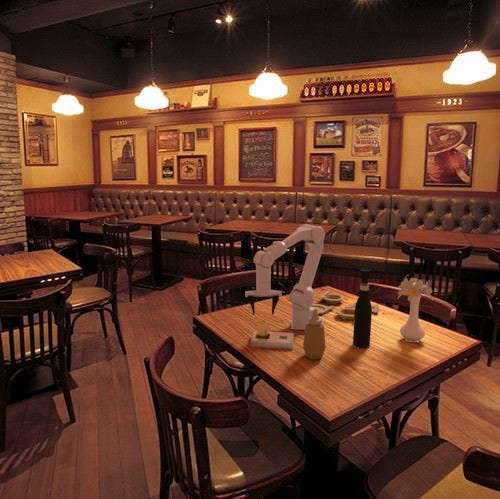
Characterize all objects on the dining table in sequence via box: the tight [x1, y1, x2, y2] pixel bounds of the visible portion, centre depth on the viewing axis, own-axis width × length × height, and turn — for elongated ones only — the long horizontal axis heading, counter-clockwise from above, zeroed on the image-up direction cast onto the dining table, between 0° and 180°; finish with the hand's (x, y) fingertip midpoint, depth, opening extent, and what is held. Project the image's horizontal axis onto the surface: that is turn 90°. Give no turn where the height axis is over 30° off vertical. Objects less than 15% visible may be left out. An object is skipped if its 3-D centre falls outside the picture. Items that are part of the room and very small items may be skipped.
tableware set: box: [311, 290, 380, 321], centre depth 209 cm, size 35×29×4 cm
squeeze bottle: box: [302, 309, 327, 360], centre depth 156 cm, size 8×8×18 cm
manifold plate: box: [250, 330, 295, 350], centre depth 170 cm, size 16×10×2 cm, turn 81°
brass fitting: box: [257, 320, 269, 339], centre depth 170 cm, size 4×4×8 cm
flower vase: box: [397, 277, 434, 342], centre depth 171 cm, size 13×18×25 cm
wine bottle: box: [352, 268, 373, 349], centre depth 165 cm, size 6×6×30 cm
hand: (263, 313), depth 175 cm, fingers open, 7 cm apart
